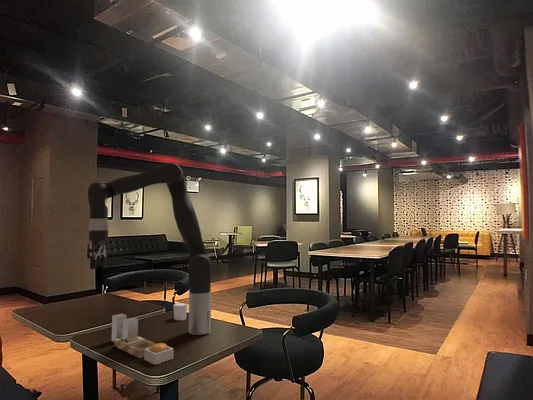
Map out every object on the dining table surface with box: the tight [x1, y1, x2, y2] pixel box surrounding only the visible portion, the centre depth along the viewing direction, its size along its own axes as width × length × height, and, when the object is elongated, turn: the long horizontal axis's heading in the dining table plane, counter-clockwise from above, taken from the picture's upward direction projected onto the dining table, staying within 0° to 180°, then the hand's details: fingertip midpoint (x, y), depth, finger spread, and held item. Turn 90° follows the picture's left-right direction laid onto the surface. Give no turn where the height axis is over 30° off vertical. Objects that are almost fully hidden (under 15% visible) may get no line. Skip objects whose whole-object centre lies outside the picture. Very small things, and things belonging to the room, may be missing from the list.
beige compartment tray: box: [114, 335, 157, 359], centre depth 131 cm, size 18×8×2 cm, turn 49°
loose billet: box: [111, 313, 128, 343], centre depth 141 cm, size 4×4×10 cm
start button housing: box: [143, 345, 175, 366], centre depth 122 cm, size 7×7×4 cm
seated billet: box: [123, 317, 139, 343], centre depth 135 cm, size 4×4×10 cm
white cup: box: [172, 302, 188, 321], centre depth 173 cm, size 7×7×7 cm
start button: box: [152, 342, 168, 353], centre depth 122 cm, size 5×5×2 cm
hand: (98, 267), depth 149 cm, fingers open, 8 cm apart
